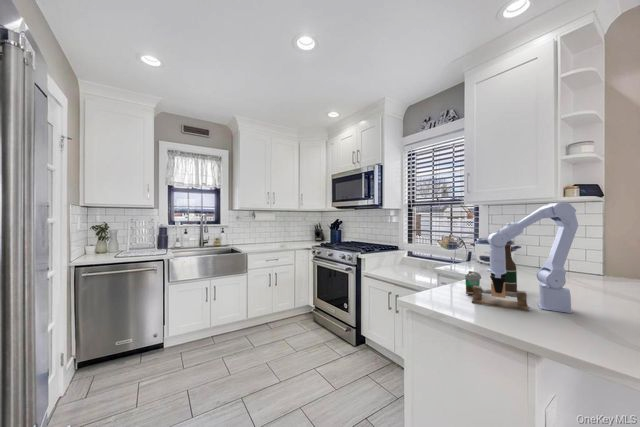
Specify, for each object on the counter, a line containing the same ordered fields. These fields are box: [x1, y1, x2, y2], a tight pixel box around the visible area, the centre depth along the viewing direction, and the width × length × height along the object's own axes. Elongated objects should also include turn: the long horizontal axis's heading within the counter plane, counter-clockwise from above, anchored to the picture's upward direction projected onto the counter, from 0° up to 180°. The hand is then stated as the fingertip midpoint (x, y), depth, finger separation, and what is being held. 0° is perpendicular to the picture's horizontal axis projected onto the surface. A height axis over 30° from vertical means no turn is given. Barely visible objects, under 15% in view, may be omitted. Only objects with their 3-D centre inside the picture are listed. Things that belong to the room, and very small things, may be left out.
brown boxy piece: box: [471, 285, 530, 312], centre depth 113 cm, size 20×8×6 cm, turn 55°
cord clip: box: [490, 280, 507, 299], centre depth 113 cm, size 5×5×6 cm
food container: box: [464, 270, 482, 296], centre depth 129 cm, size 12×6×10 cm, turn 143°
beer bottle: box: [504, 243, 518, 293], centre depth 133 cm, size 8×8×24 cm
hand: (498, 291), depth 113 cm, fingers closed on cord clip, 5 cm apart
